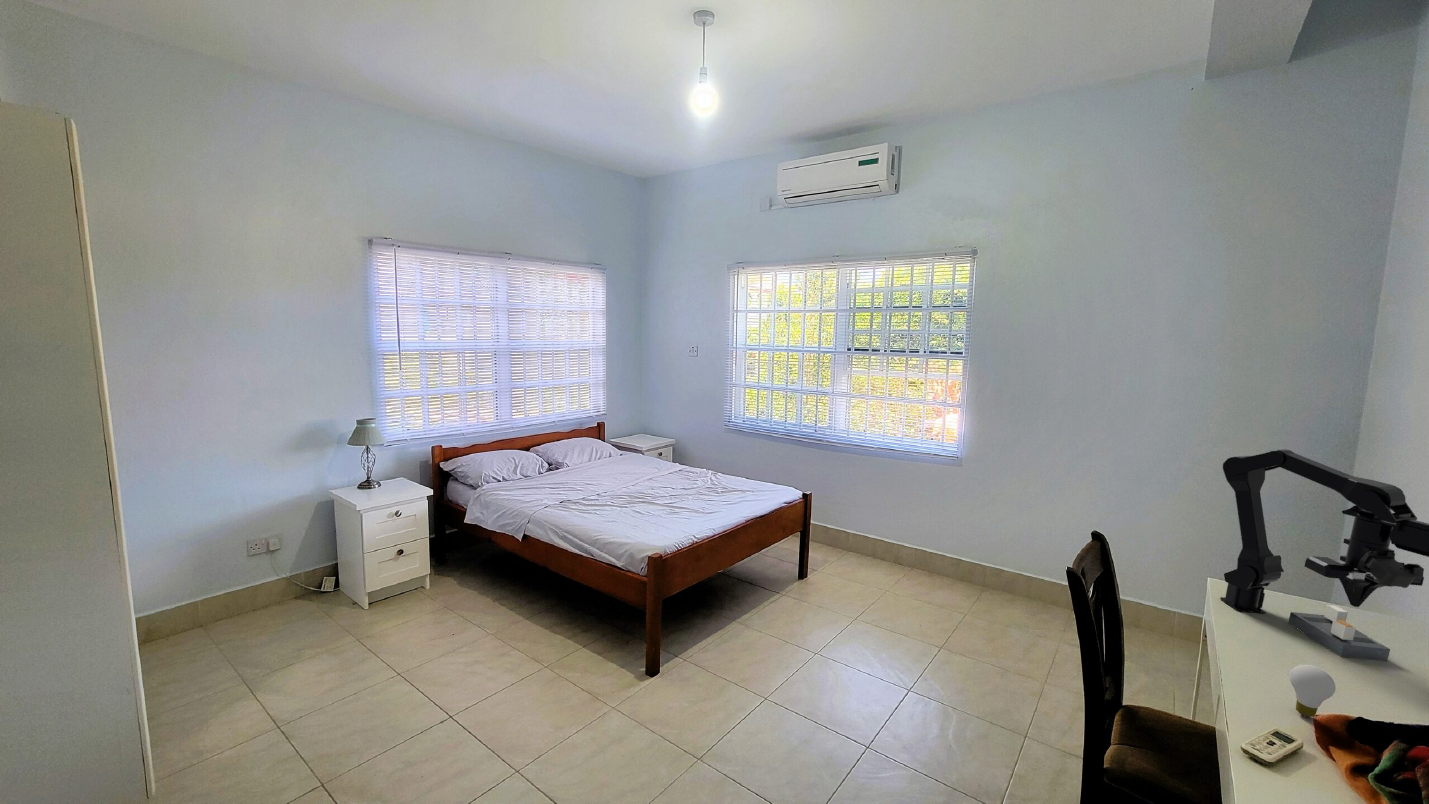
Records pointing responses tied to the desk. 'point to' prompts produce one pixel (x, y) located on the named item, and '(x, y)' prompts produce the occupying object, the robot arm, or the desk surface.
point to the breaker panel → (1321, 632)
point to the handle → (1335, 613)
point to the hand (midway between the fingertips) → (1354, 606)
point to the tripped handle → (1343, 630)
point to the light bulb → (1311, 688)
